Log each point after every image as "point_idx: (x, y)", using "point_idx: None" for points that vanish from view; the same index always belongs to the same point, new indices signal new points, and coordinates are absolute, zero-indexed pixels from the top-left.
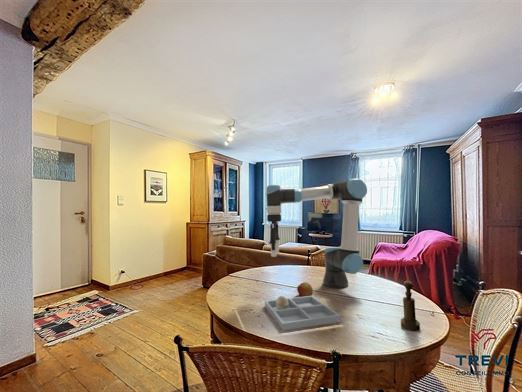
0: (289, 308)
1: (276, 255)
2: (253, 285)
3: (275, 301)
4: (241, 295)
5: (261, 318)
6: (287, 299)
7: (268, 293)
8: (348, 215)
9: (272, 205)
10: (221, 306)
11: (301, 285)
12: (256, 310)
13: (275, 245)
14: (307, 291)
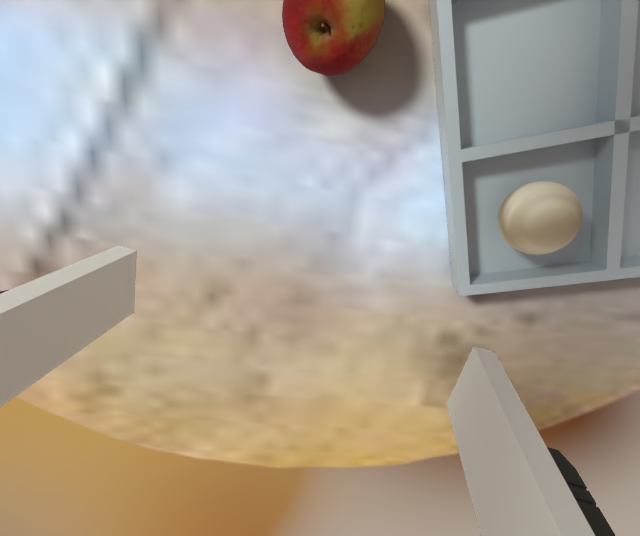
0: (515, 170)
1: (476, 353)
2: None
3: (466, 241)
4: (267, 360)
5: (559, 311)
6: (462, 171)
7: (247, 237)
8: None
9: None
10: (387, 438)
11: (344, 35)
12: (463, 320)
13: (568, 509)
14: (384, 3)
